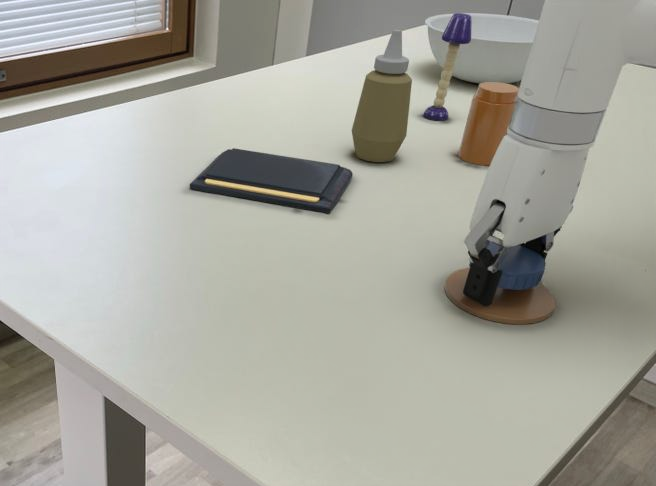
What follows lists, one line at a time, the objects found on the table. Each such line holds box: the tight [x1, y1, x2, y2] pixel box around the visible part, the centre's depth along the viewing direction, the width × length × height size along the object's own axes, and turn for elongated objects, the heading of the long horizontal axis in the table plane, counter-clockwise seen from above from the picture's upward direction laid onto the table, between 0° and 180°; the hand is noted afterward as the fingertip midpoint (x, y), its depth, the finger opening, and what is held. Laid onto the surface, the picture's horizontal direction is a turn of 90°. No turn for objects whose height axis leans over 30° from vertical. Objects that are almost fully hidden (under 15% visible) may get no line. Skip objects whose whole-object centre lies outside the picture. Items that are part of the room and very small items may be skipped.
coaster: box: [444, 267, 556, 325], centre depth 77 cm, size 11×11×1 cm
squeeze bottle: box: [351, 29, 413, 163], centre depth 105 cm, size 8×8×18 cm
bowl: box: [424, 12, 539, 84], centre depth 146 cm, size 27×27×10 cm
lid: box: [468, 242, 547, 290], centre depth 75 cm, size 7×7×2 cm
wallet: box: [189, 147, 353, 214], centre depth 101 cm, size 20×2×15 cm
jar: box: [457, 82, 520, 166], centre depth 108 cm, size 6×6×11 cm
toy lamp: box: [423, 12, 472, 121], centre depth 122 cm, size 5×5×17 cm
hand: (499, 289), depth 76 cm, fingers closed on lid, 6 cm apart
